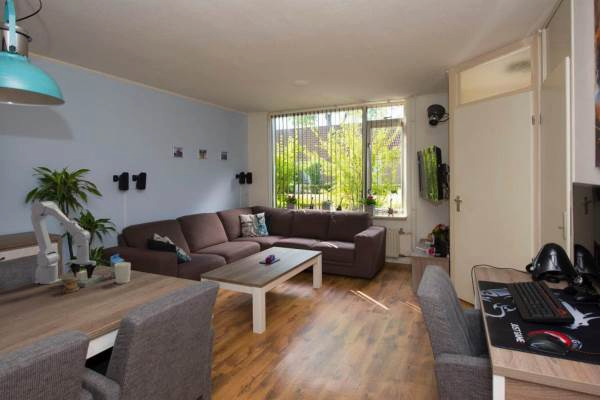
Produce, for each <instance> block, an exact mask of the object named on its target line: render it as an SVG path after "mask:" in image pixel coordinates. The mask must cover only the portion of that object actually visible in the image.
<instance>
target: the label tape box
mask: <svg viewBox="0 0 600 400" xmlns="http://www.w3.org/2000/svg"><path fill="white" fill-rule="evenodd" d="M122 262H126V261H125V259H123V258H121V257H120V253H116V254H114V255H112V256H110V275H111V278H115V279H116V277H115V264H117V263H122Z"/></svg>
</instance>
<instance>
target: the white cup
mask: <svg viewBox="0 0 600 400" xmlns="http://www.w3.org/2000/svg"><path fill="white" fill-rule="evenodd" d="M130 276H131V262H129V261H127V262H126V261H125V262H122V263H117V264H115V277H116V278H115V283H117V284H126V283H129V282H130V280H131V279H130V278H131V277H130Z"/></svg>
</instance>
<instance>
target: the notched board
mask: <svg viewBox="0 0 600 400" xmlns="http://www.w3.org/2000/svg"><path fill="white" fill-rule="evenodd" d="M103 280H105V275H101V274H100V275H98V274H92V277H91V278H89V279H87V280H84V281H77V286H78V287H79V288H86V287H89V286H91V285H93V284H96V283H98V282H101V281H103ZM60 284H61V286H62V285H64V287H65V283H63V281H62V280H61V283H60Z"/></svg>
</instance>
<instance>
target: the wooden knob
mask: <svg viewBox="0 0 600 400" xmlns="http://www.w3.org/2000/svg"><path fill="white" fill-rule="evenodd" d="M62 281H63V283H65V286H64V288H63V289H62V292H63V293H65V294H69V293H75V292H76V293H77V292H78V291H79V290H80V287H78V286H77V281H79V277H75V276H70V277H65V278H63V279H62V280H61V282H62Z"/></svg>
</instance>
